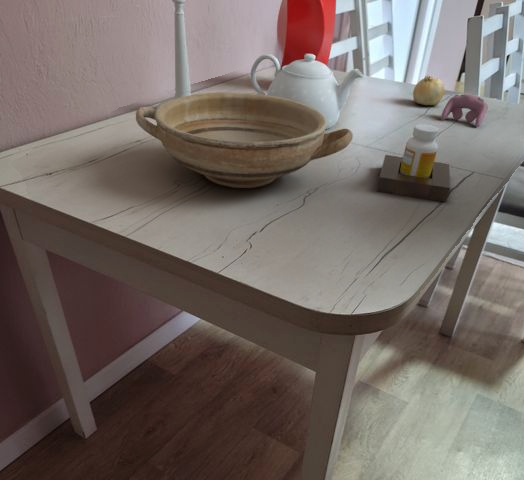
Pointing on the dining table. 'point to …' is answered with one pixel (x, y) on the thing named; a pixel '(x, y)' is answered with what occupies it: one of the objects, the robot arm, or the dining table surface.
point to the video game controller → (468, 102)
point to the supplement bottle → (420, 152)
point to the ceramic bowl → (241, 136)
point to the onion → (428, 91)
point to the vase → (305, 29)
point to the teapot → (309, 85)
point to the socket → (414, 181)
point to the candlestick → (180, 55)
